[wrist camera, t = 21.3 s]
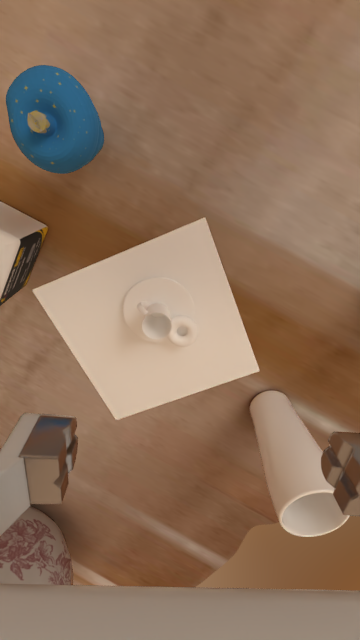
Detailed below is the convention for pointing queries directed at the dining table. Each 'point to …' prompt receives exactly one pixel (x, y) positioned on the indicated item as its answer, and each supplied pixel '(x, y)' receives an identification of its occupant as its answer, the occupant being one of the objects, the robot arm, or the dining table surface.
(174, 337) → the teacup and saucer
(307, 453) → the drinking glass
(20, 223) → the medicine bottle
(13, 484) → the robot arm
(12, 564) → the milk jug
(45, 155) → the ornament
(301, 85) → the dining table surface
